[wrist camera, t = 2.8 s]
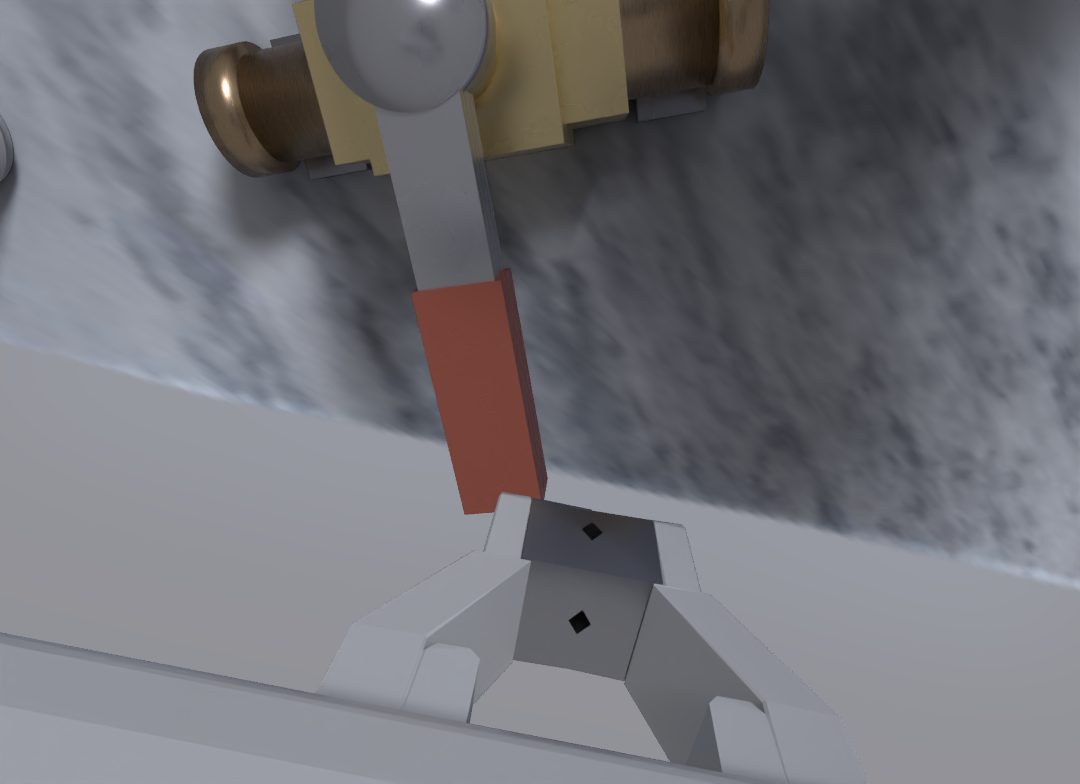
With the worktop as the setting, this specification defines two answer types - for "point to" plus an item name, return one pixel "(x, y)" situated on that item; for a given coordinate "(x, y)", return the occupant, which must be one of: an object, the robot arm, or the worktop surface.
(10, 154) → the energy drink can
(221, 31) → the worktop surface
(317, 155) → the valve fixture
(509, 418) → the lever
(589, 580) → the robot arm
